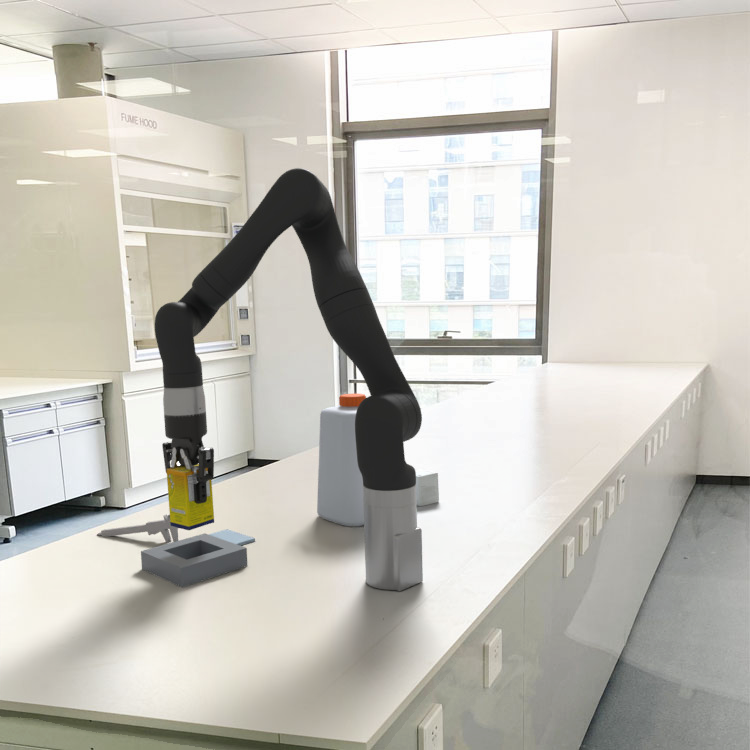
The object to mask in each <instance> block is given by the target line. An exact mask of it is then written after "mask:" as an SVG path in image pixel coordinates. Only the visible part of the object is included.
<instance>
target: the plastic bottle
mask: <svg viewBox="0 0 750 750" xmlns="http://www.w3.org/2000/svg"><path fill="white" fill-rule="evenodd" d="M365 398H367V396H366V395H365V394H364V393H345V394H340V395H339V397H338V401H339V402H338V403H339V405H336V406H330V407H326V408H324V409H322V410H321V411H320V413H319V414H320V415H319V416H320V417H319V419H320V420H319V440H318V441H319V443H318V445H319V446H318V447H319V448H318V469H317V470H318V471H317V473H318V474H317V475H318V478H317V500H316V501H317V505H316V506H317V508H316V509H317V510H316V513H317V515H318V516H319V517H320V518H321V519H323V520H326V521H328V522H329V521H330V522H332V523H334V524H338V525H341V526H344V527H345V526H346V527H361V526H364V504H363V502H364V501H363V478H362V474H361V472H360V470H359V467H358V462H357V450H356V438H355V417H356V412H357V409H358V406H359V405H360V403H361V402H362V401H363V400H364V399H365Z"/></svg>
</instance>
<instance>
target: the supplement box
mask: <svg viewBox="0 0 750 750" xmlns="http://www.w3.org/2000/svg"><path fill="white" fill-rule="evenodd" d="M198 465H199V463H198ZM198 465H195V466H198ZM205 470H206V473H208V468H206V469H205ZM196 472H197V475H199V470H198V471H196ZM166 480H167V492H168V493H167V494H168V495H167V496H168V507H169V508H168V511H169V515H170V524H171V526H173V527H177V528H178V529H181V530H186V531H192V530H194V529H197V528H201V527H204V526H207V525H210V524H214V523H215V515H214V513H215V512H214V498H213V487H212V486H213V485H212V483H213V482H212V479H211V480H208V481H207V482H206V489H207V491H206V492H207V501H206V502H204V503H200V504H197V503H195V500H194V485H193V484H194V482H193V478H192V472H190V471H187V468H186V466H185V465H184V466H179V467H175V468H169V469H167V473H166Z"/></svg>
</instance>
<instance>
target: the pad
mask: <svg viewBox="0 0 750 750" xmlns="http://www.w3.org/2000/svg"><path fill="white" fill-rule="evenodd" d="M207 534H208V535H211V536H214V537H217V538H220V539H223V540H226V541H228V542H231V543H234V544H237V545H240V546H243V545H246V544H250V543H253V542H256V538H255V537H252V536H249V535H246V534H243V533H240V532H237V531H235V530H231V529H223V530H219V531H216V532H212V533H207Z"/></svg>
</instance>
